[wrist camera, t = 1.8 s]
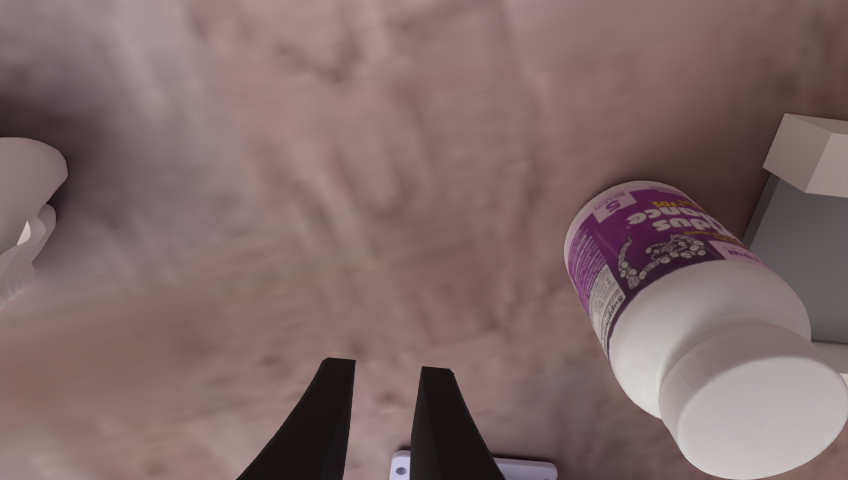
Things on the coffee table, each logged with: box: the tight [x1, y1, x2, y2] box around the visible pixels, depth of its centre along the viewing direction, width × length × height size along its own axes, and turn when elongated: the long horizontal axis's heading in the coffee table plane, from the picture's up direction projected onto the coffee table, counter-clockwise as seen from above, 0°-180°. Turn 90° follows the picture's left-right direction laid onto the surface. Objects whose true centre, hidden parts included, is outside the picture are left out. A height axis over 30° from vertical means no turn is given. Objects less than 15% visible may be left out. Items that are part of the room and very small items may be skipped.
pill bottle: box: [564, 181, 848, 480], centre depth 17 cm, size 5×5×10 cm
